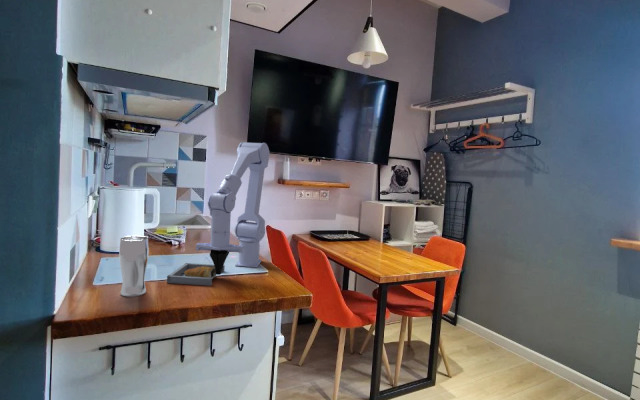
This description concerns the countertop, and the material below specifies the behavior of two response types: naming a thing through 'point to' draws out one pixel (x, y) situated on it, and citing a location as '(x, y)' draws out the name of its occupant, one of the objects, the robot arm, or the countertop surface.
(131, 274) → the beer glass
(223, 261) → the robot arm
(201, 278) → the tray slot
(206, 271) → the pastry
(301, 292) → the countertop surface
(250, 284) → the countertop surface
